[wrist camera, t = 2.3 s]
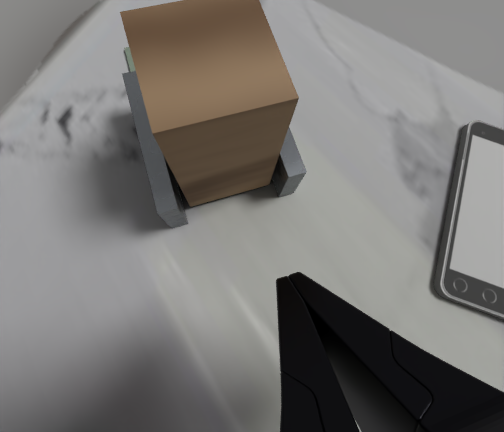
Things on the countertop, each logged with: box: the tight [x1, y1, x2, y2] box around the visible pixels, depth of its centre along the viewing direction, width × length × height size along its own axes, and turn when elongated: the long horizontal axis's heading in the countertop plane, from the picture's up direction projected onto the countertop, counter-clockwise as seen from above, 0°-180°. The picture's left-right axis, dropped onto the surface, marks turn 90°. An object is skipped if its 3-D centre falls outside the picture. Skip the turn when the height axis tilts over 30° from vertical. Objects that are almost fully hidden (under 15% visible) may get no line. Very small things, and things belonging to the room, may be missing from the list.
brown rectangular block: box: [120, 0, 299, 207], centre depth 17 cm, size 6×6×10 cm
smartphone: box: [434, 120, 504, 320], centre depth 22 cm, size 7×1×15 cm
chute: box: [122, 47, 306, 228], centre depth 21 cm, size 16×9×4 cm, turn 18°
